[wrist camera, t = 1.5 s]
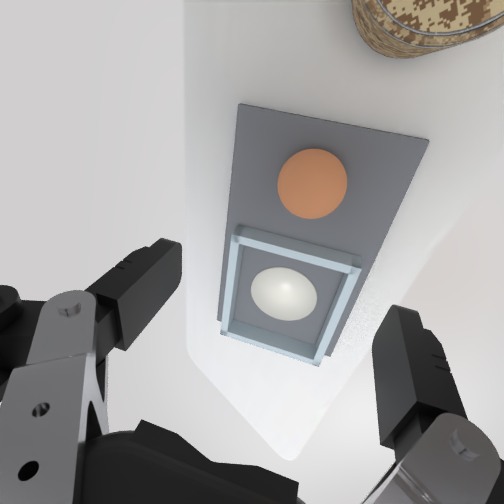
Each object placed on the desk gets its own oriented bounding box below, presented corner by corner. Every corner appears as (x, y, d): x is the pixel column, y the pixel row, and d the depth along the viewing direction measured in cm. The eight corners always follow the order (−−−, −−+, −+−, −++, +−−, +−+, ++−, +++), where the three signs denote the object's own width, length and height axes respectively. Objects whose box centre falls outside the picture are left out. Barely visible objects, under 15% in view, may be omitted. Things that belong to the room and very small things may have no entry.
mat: (240, 103, 22) (238, 104, 22) (427, 139, 20) (429, 141, 20) (218, 316, 36) (217, 320, 35) (330, 352, 34) (330, 356, 33)
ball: (291, 136, 22) (278, 150, 18) (356, 149, 21) (358, 167, 17) (279, 196, 25) (265, 220, 21) (336, 210, 24) (333, 238, 20)
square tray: (238, 224, 27) (231, 233, 26) (360, 256, 26) (361, 269, 24) (226, 321, 35) (220, 334, 33) (320, 352, 33) (318, 366, 31)
